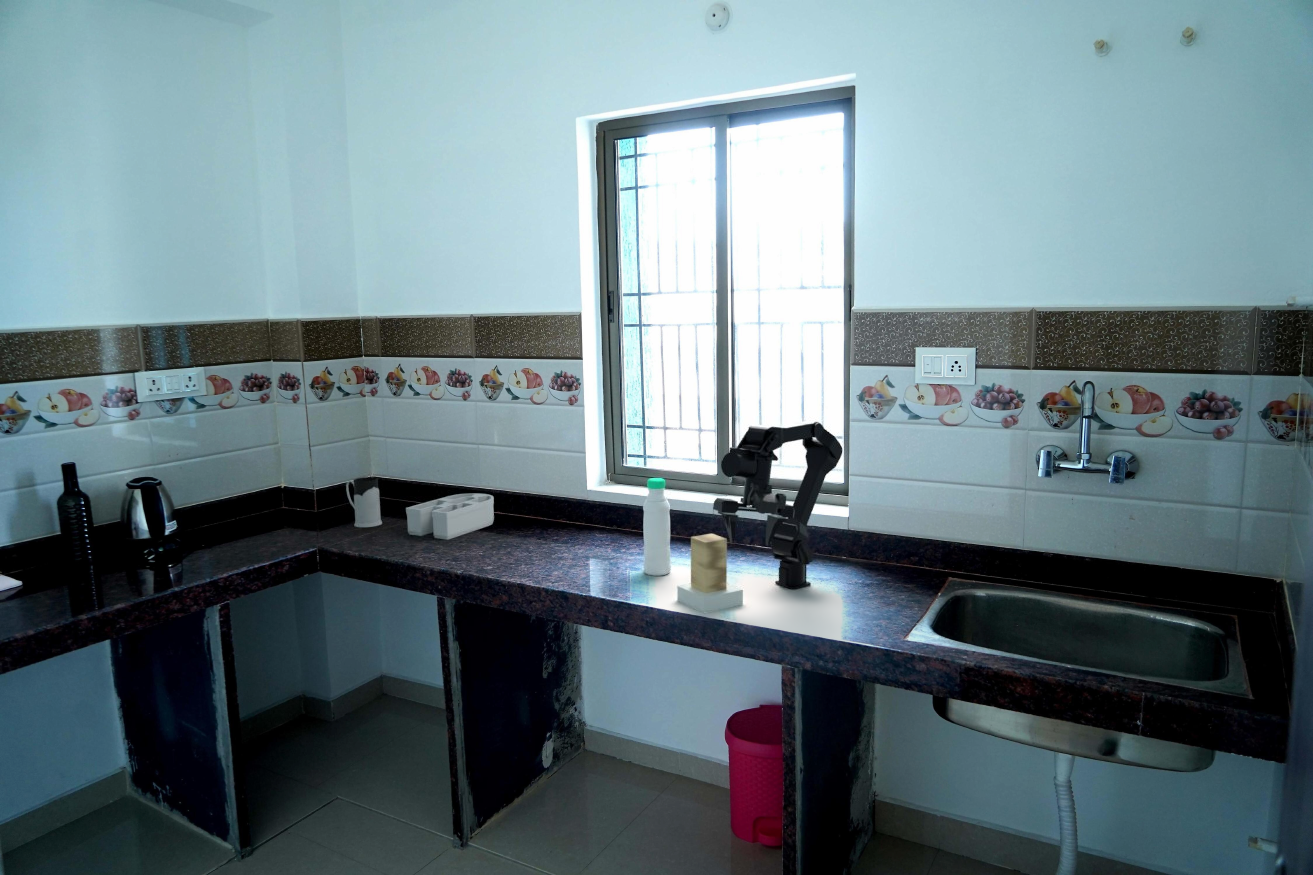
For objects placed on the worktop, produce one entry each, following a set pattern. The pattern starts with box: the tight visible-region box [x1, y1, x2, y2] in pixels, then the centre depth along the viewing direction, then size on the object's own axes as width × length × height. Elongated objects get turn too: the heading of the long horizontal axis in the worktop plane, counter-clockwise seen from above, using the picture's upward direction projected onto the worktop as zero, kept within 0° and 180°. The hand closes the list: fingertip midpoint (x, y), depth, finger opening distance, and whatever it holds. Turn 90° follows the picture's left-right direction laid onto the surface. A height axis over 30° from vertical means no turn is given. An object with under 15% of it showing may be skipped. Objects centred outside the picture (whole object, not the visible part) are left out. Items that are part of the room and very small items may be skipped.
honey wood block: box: [690, 533, 728, 593], centre depth 206 cm, size 6×6×12 cm
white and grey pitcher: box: [345, 476, 383, 528], centre depth 290 cm, size 9×14×15 cm, turn 57°
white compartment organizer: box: [405, 493, 495, 541], centre depth 283 cm, size 17×28×9 cm, turn 152°
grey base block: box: [676, 582, 744, 614], centre depth 207 cm, size 11×11×4 cm
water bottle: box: [642, 477, 672, 577], centre depth 229 cm, size 7×7×25 cm
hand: (749, 544), depth 207 cm, fingers open, 9 cm apart
